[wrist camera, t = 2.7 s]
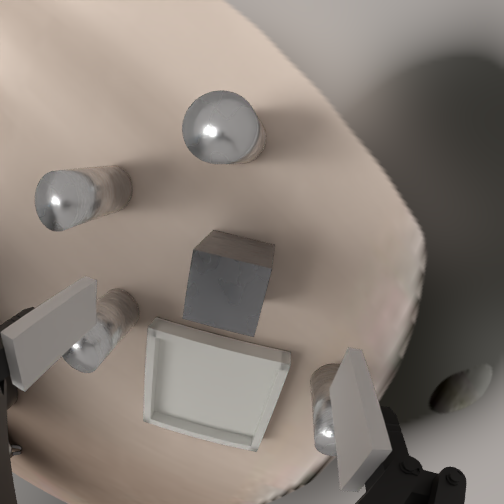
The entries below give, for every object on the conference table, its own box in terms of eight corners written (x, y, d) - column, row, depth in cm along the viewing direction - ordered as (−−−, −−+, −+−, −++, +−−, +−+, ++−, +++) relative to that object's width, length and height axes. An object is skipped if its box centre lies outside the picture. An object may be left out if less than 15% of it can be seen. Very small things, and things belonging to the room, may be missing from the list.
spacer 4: (342, 398, 29) (353, 457, 21) (304, 392, 29) (307, 453, 21) (357, 367, 28) (374, 426, 20) (318, 360, 28) (325, 420, 20)
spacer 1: (128, 215, 26) (75, 237, 18) (91, 207, 26) (33, 224, 19) (135, 169, 25) (81, 175, 17) (97, 162, 25) (37, 167, 17)
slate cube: (260, 300, 27) (253, 337, 21) (202, 286, 27) (182, 318, 21) (274, 244, 26) (271, 268, 20) (213, 229, 26) (193, 249, 20)
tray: (258, 439, 32) (256, 451, 30) (149, 409, 32) (143, 421, 30) (290, 352, 28) (290, 364, 26) (156, 317, 28) (147, 327, 27)
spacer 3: (259, 168, 24) (247, 171, 16) (209, 158, 24) (175, 156, 17) (271, 118, 23) (265, 97, 15) (220, 108, 23) (191, 85, 15)
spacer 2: (138, 332, 29) (99, 379, 21) (102, 319, 29) (59, 361, 22) (140, 295, 28) (97, 338, 20) (103, 284, 28) (54, 320, 20)
